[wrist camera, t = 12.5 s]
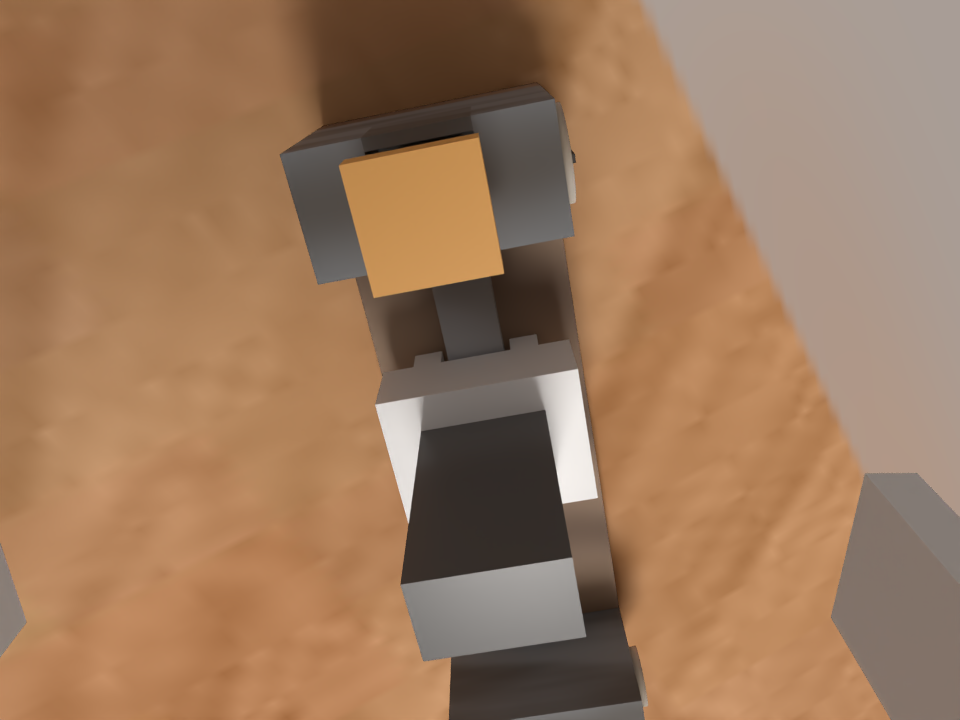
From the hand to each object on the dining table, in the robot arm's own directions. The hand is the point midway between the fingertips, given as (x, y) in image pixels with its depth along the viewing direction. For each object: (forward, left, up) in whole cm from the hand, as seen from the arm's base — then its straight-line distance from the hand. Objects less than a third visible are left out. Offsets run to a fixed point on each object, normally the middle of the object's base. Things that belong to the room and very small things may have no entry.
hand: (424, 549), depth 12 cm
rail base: (-11, 0, -23) cm, 25 cm away
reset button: (+2, 0, -16) cm, 16 cm away
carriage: (-9, 0, -21) cm, 23 cm away
